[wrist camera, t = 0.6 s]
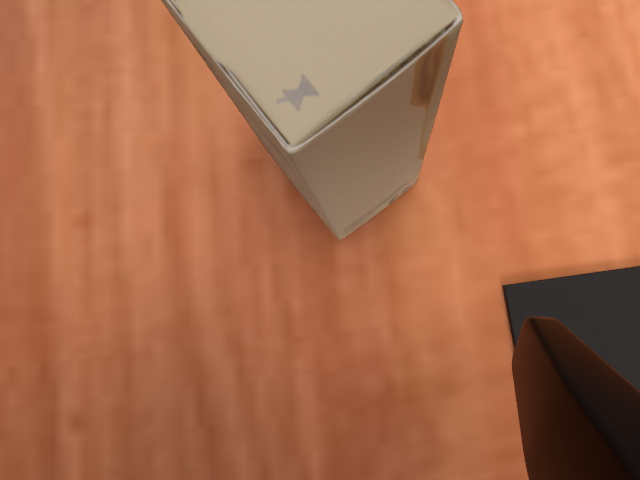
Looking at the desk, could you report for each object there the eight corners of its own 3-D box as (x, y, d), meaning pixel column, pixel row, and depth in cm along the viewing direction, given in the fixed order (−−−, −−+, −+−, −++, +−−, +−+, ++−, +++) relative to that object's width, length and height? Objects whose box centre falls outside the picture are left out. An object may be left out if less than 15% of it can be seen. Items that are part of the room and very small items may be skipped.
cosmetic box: (420, 181, 21) (487, 26, 9) (338, 244, 21) (298, 171, 9) (328, 69, 22) (278, -204, 10) (250, 130, 22) (108, -72, 10)
